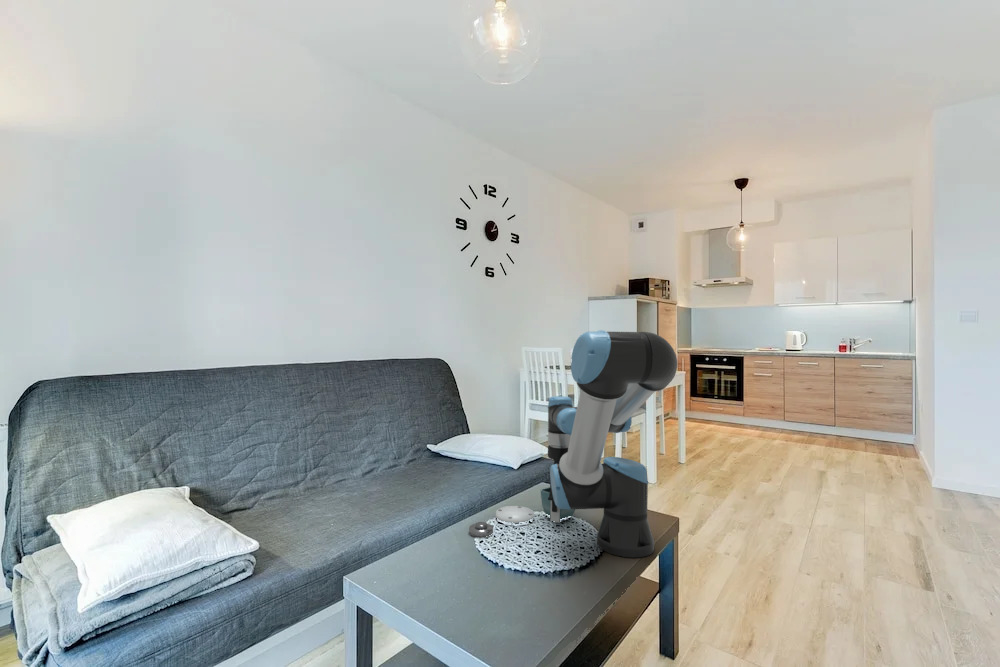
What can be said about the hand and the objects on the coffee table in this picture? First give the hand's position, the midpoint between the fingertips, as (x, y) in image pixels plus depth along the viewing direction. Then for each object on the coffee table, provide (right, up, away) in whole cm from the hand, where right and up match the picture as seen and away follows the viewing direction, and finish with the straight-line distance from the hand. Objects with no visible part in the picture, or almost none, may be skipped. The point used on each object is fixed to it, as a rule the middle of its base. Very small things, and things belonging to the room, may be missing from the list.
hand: (559, 515), depth 145 cm
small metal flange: (-24, 0, -12) cm, 27 cm away
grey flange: (-14, -1, -1) cm, 14 cm away
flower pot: (0, -1, 0) cm, 1 cm away
